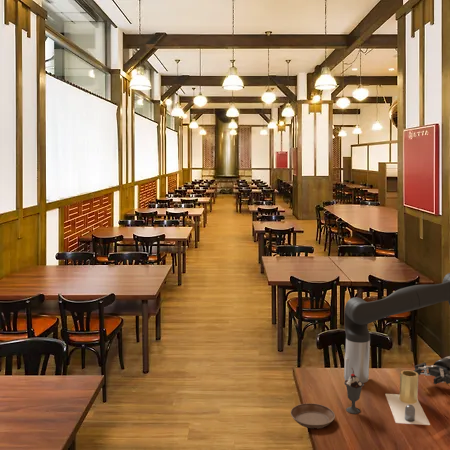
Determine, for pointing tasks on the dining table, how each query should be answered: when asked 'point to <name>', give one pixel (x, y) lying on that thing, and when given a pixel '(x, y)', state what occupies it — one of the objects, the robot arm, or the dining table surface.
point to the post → (410, 413)
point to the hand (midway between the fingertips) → (424, 377)
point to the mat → (399, 410)
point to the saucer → (312, 415)
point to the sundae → (353, 392)
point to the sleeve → (408, 386)
